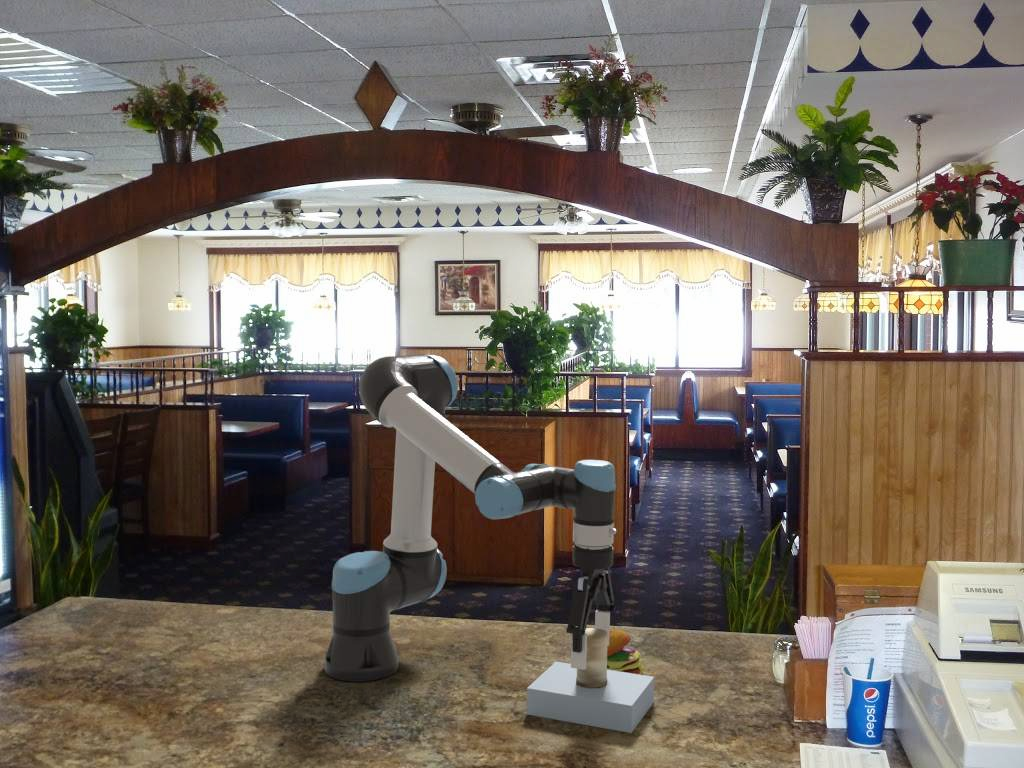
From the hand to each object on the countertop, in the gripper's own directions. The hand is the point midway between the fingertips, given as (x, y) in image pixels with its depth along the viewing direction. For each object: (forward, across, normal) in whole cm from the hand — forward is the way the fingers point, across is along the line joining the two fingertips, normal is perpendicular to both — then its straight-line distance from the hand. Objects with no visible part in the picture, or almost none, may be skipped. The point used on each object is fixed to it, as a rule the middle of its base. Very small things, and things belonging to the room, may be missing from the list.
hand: (590, 656), depth 189 cm
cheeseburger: (+10, +19, +1) cm, 22 cm away
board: (+10, 0, 0) cm, 10 cm away
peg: (+9, 0, 0) cm, 10 cm away
